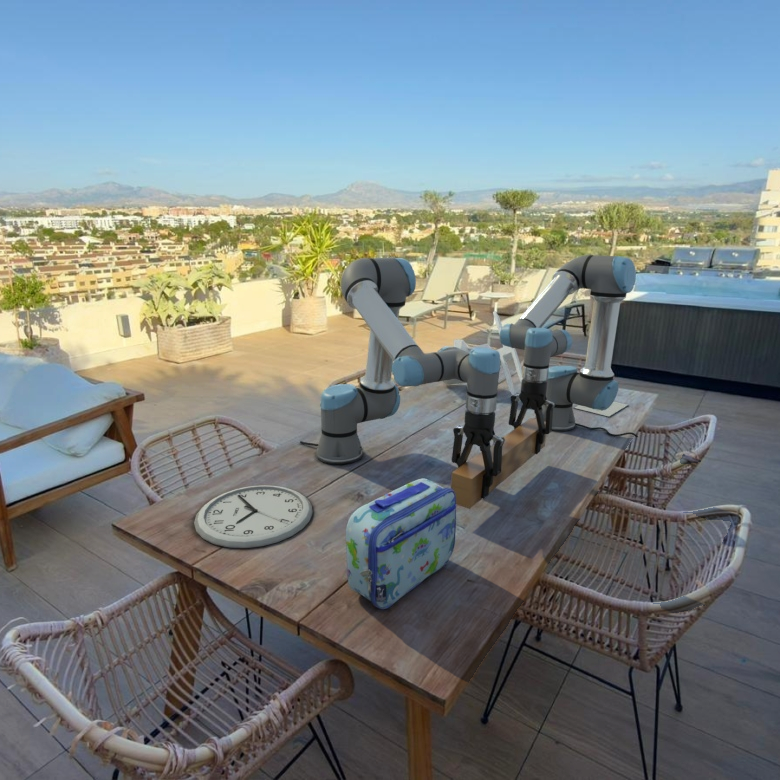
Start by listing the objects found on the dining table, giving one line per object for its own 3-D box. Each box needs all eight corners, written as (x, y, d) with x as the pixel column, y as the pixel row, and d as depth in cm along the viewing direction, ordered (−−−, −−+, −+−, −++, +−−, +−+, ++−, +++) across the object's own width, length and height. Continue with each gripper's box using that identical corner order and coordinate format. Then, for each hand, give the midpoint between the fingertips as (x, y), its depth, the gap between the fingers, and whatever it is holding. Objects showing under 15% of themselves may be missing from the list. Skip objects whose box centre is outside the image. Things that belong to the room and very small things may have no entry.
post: (528, 441, 173) (530, 417, 170) (545, 446, 169) (547, 422, 167) (449, 501, 134) (451, 472, 132) (469, 509, 131) (471, 479, 128)
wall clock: (308, 539, 124) (178, 544, 121) (308, 545, 124) (179, 550, 122) (315, 481, 152) (209, 483, 150) (315, 486, 153) (210, 488, 150)
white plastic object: (461, 429, 252) (437, 405, 227) (444, 352, 274) (420, 323, 250) (535, 404, 240) (518, 377, 215) (510, 326, 262) (492, 293, 237)
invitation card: (608, 416, 214) (573, 407, 224) (608, 416, 214) (573, 408, 224) (628, 404, 229) (594, 396, 238) (628, 405, 229) (594, 397, 238)
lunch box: (375, 622, 100) (376, 527, 94) (339, 595, 108) (338, 505, 101) (459, 565, 118) (465, 481, 112) (424, 545, 125) (427, 465, 119)
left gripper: (440, 405, 133) (435, 486, 141) (508, 423, 123) (500, 510, 130) (455, 398, 139) (450, 476, 146) (521, 414, 129) (512, 498, 136)
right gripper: (500, 376, 160) (495, 446, 167) (560, 388, 150) (552, 461, 157) (510, 371, 166) (505, 438, 173) (569, 382, 155) (561, 453, 163)
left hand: (473, 492), depth 138 cm, fingers closed on post, 6 cm apart
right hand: (527, 449), depth 165 cm, fingers closed on post, 6 cm apart
